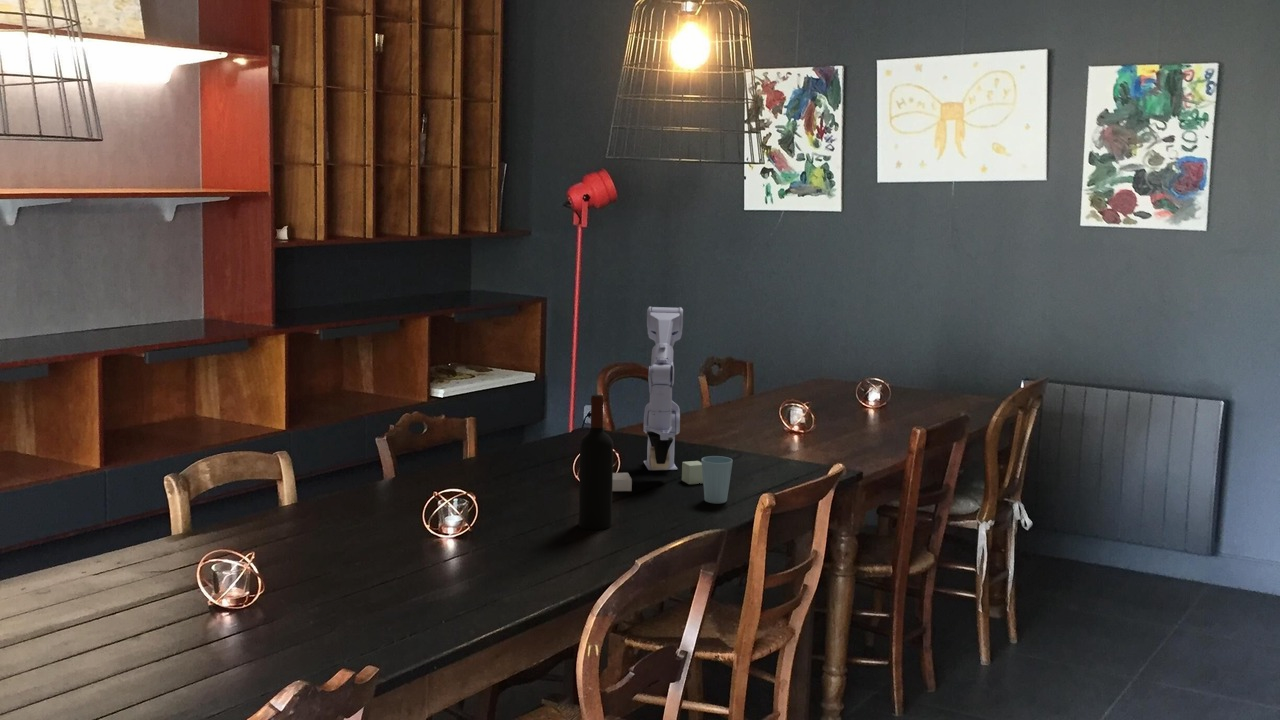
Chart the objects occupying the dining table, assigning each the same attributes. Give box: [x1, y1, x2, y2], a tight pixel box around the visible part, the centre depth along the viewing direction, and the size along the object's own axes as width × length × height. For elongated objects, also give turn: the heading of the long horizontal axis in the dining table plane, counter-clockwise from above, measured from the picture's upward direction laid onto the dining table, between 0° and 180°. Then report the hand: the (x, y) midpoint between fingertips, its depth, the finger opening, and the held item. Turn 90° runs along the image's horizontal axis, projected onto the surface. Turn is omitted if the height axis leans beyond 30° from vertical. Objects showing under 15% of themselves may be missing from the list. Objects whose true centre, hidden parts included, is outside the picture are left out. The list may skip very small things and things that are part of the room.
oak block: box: [649, 447, 669, 469], centre depth 321 cm, size 4×4×5 cm
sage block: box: [681, 460, 703, 485], centre depth 322 cm, size 4×4×5 cm
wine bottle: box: [578, 394, 614, 531], centre depth 278 cm, size 8×8×30 cm
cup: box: [700, 455, 734, 504], centre depth 303 cm, size 8×8×10 cm
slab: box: [612, 472, 633, 492], centre depth 314 cm, size 7×7×3 cm
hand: (659, 461), depth 321 cm, fingers closed on oak block, 4 cm apart
